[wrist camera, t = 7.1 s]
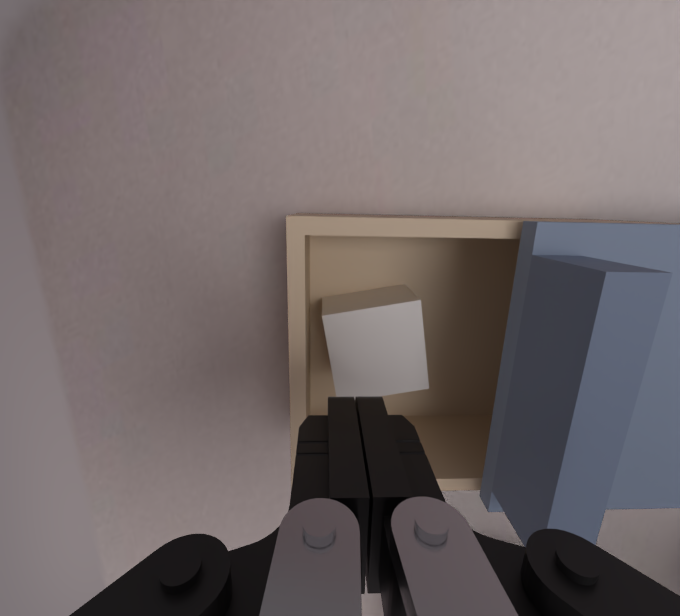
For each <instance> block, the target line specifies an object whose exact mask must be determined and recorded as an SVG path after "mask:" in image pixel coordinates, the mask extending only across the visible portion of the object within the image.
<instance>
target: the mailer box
mask: <svg viewBox="0 0 680 616" xmlns="http://www.w3.org/2000/svg"><path fill="white" fill-rule="evenodd" d="M523 221H549V222H598V223H647V224H679V223H657V222H635V221H614V220H592V219H549V218H501V217H453V216H406V215H358V214H310V213H296V214H292V215H287V216H286V243H287V292H288V340H289V389H290V437H291V486H292V482H293V474H294V466H295V457H296V449H297V440H298V432H299V427H300V425H301V424H302V423H303V421H304V420H305V419H306V418H307V416H308V415H328V397H336V392H335V387H334V381H333V375H332V370H331V364H330V358H329V353H328V347H327V341H326V336H325V330H324V325H323V319H322V297H328V296H334V295H340V294H346V293H353V292H359V291H365V290H371V289H377V288H384V287H390V286H396V285H402V284H405V285H406V286H407V287H408V288H409V289H410V290H411V291H412V292H413V293H414V294H415V295H416V296H417V297H418V298H419V299H420V300H421V307H422V318H423V328H424V339H425V350H426V361H427V371H428V382H429V389H423V390H417V391H411V392H404V393H398V394H392V395H386V396H382V397H383V400H384V404H385V407H386V410H387V413H388V415H403V416H404V417H405V418H406V419H407V420H408V421H409V422H410V423H412V424H413V425H414V426H415V429H416V431H417V434H418V436H419V439H420V443H422V446H423V448H424V451H425V455H426V456H427V458H428V460H429V463H430V465H431V468H432V470H433V473H434V475H435V478H436V480H437V482H438V485H439V487H440V490H441V491H456V490H480V489H481V483H482V477H483V471H484V464H485V458H486V452H487V446H488V439H489V433H490V427H491V420H492V414H493V408H494V402H495V395H496V389H497V383H498V377H499V370H500V364H501V358H502V352H503V345H504V339H505V333H506V327H507V320H508V314H509V308H510V302H511V295H512V289H513V283H514V276H515V270H516V264H517V258H518V251H519V245H520V239H521V233H522V226H523Z"/></svg>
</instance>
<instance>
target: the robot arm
mask: <svg viewBox="0 0 680 616" xmlns="http://www.w3.org/2000/svg"><path fill="white" fill-rule="evenodd" d="M365 575H366V582H367V591H368V593H381V598H382V605H383V612H384V616H680V596H679V595H677V594H675V593H674V592H672V591H670V590H669V589H667V588H666V587H664V586H662V585H661V584H659V583H657V582H656V581H654V580H652V579H651V578H649V577H647V576H646V575H644V574H642V573H641V572H639V571H637V570H636V569H634V568H632V567H631V566H629V565H627V564H626V563H624V562H622V561H621V560H619V559H618V558H616V557H614V556H613V555H611V554H609V553H608V552H606V551H604V550H603V549H601V548H599V547H598V546H596V545H594V544H593V543H591V542H589V541H588V540H586V539H584V538H582V537H580V536H578V535H575V534H573V533H570V532H567V531H564V530H559V529H550V528H549V529H541V530H538V531H536V532H534V533H533V534H532V535H531V536H530V537H529V538H528V540H527V544H526V547H522V546H519V545H515V544H511V543H507V542H504V541H500V540H496V539H493V538H489V537H486V536H484V535H481V534H479V533H477V532H475V531H473V530H472V529H471V527H470V526H469V524H468V522H467V521H466V519H465V518H464V517H463V516H462V514H461V513H460V512H458V511H457V510H456V509H455V508H454V507H452V506H451V505H449V504H447V503H446V502H445V499H444V497H443V495H442V492H441V490H440V487H439V485H438V482H437V480H436V478H435V475H434V473H433V470H432V468H431V465H430V463H429V460H428V458H427V456H426V455H425V451H424V448H423V446H422V443H420V439H419V436H418V434H417V431H416V429H415V426H414V425H413V424H412V423H410V422H409V421H408V420H407V419H406V418H405V417H404V416H403V415H388V413H387V410H386V407H385V404H384V400H383V397H382V396H356V397H355V399H354V397H328V415H308V416H307V418H306V419H305V420H304V421H303V423H302V424H301V425H300V427H299V432H298V440H297V449H296V457H295V466H294V474H293V482H292V491H291V499H290V506H289V511H288V513H287V514H286V515H285V516H284V518H283V520H282V522H281V524H280V526H279V527H278V528H277V529H276V530H275V531H274V532H273V533H271V534H270V535H268V536H267V537H265V538H264V539H262V540H260V541H258V542H255V543H253V544H250V545H247V546H244V547H241V548H237V549H234V550H231V551H228V550H227V548H226V546H225V545H224V544H223V543H222V542H221V541H220V540H219V539H217V538H215V537H213V536H210V535H206V534H191V535H186V536H182V537H179V538H177V539H174V540H172V541H170V542H168V543H166V544H164V545H163V546H162V547H160V548H159V549H157V550H156V551H154V552H153V553H152V554H150V555H149V556H148V557H147V558H145V559H144V560H143V561H141V562H140V563H139V564H137V565H136V566H135V567H133V568H132V569H131V570H129V571H128V572H127V573H125V574H124V575H123V576H121V577H120V578H119V579H117V580H116V581H115V582H113V583H112V584H111V585H109V586H108V587H107V588H105V589H104V590H103V591H101V592H100V593H99V594H98V595H96V596H95V597H93V598H92V599H91V600H90V601H88V602H87V603H86V604H84V605H83V606H82V607H80V608H79V609H78V610H76V611H75V612H74V613H72V614H71V615H70V616H362V608H361V594H364V593H365Z"/></svg>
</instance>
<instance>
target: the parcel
mask: <svg viewBox="0 0 680 616" xmlns="http://www.w3.org/2000/svg"><path fill="white" fill-rule="evenodd" d="M322 319H323V325H324V330H325V336H326V341H327V347H328V353H329V358H330V364H331V370H332V375H333V381H334V387H335V392H336V397H354V399H355V397H356V396H386V395H392V394H398V393H404V392H411V391H417V390H423V389H429V382H428V371H427V361H426V350H425V339H424V328H423V318H422V307H421V300H420V299H419V298H418V297H417V296H416V295H415V294H414V293H413V292H412V291H411V290H410V289H409V288H408V287H407V286H406V285H405V284H402V285H396V286H390V287H384V288H377V289H371V290H365V291H359V292H353V293H346V294H340V295H334V296H328V297H322Z"/></svg>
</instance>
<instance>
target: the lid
mask: <svg viewBox="0 0 680 616" xmlns="http://www.w3.org/2000/svg"><path fill="white" fill-rule="evenodd" d="M480 498H481V500H482V501H483V503H484V505H485V507H486V509H487V511H488V512H505V514H506V516H507V517H508V519H509V521H510V523H511V524H512V526H513V528H514V529H515V531H516V533H517V534H518V536H519V538H520V539H521V541H522V543H523V544H524V546H525V547H526V544H527V540H528V538H529V537H530V536H531V535H532V534H533V533H534V532H536V531H538V530H541V529H549V528H550V529H559V530H564V531H567V532H570V533H573V534H575V535H578V536H580V537H582V538H584V539H586V540H588V541H589V542H591V543H593V544H594V545H595V544H596V541H597V537H598V534H599V530H600V527H601V523H602V520H603V516H604V513H605V509H653V508H680V224H647V223H598V222H549V221H523V226H522V233H521V239H520V245H519V251H518V258H517V264H516V270H515V276H514V283H513V289H512V295H511V302H510V308H509V314H508V320H507V327H506V333H505V339H504V345H503V352H502V358H501V364H500V370H499V377H498V383H497V389H496V395H495V402H494V408H493V414H492V420H491V427H490V433H489V439H488V446H487V452H486V458H485V464H484V471H483V477H482V483H481V489H480Z"/></svg>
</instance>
